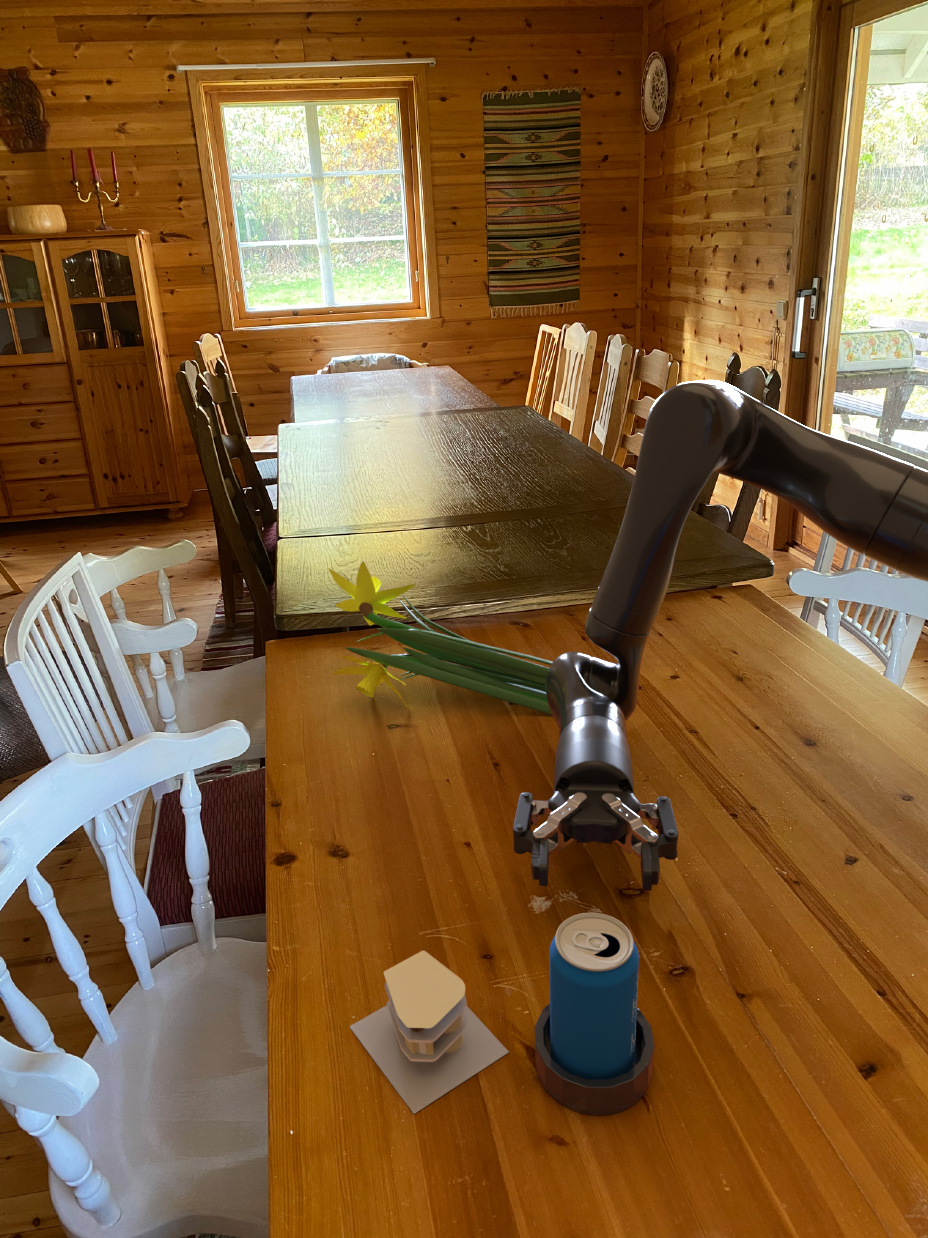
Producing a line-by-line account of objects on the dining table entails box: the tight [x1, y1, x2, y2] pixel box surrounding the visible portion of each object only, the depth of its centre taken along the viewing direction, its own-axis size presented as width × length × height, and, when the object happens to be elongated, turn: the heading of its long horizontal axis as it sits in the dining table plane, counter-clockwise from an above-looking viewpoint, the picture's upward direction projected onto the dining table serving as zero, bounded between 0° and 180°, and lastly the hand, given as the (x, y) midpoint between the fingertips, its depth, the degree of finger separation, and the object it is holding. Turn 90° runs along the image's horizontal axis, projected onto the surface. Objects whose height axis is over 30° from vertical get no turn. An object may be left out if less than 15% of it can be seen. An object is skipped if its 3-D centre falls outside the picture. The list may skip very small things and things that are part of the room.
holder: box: [534, 1003, 656, 1117], centre depth 71 cm, size 9×9×3 cm
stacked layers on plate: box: [349, 950, 510, 1115], centre depth 73 cm, size 10×9×6 cm
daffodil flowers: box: [327, 561, 554, 716], centre depth 122 cm, size 17×15×35 cm
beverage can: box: [548, 912, 640, 1080], centre depth 69 cm, size 6×6×12 cm
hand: (595, 880), depth 75 cm, fingers open, 8 cm apart
